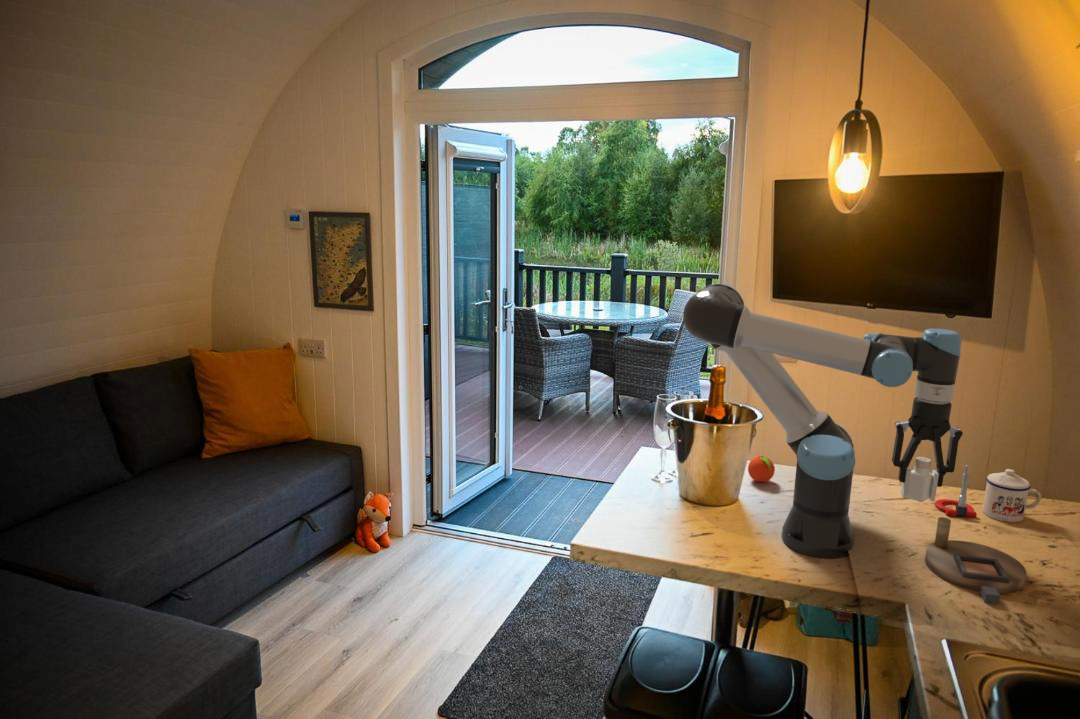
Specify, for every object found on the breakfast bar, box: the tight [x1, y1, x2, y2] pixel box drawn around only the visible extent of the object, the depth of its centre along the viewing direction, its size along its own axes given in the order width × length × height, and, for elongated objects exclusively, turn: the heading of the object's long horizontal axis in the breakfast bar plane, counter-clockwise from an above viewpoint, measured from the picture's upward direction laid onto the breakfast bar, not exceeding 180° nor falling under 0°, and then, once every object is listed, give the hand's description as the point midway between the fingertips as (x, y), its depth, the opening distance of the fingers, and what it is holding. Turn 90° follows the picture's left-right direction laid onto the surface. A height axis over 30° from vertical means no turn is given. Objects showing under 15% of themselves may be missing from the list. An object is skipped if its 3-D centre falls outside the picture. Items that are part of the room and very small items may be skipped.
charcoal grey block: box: [979, 586, 1001, 605], centre depth 145 cm, size 2×3×3 cm
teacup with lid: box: [982, 468, 1042, 523], centre depth 182 cm, size 12×9×12 cm
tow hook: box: [934, 465, 977, 518], centre depth 185 cm, size 8×13×9 cm
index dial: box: [924, 516, 1027, 594], centre depth 155 cm, size 18×18×8 cm
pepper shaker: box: [906, 456, 933, 503], centre depth 171 cm, size 4×4×10 cm
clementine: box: [747, 455, 776, 483], centre depth 202 cm, size 8×7×7 cm
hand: (917, 496), depth 172 cm, fingers closed on pepper shaker, 5 cm apart
